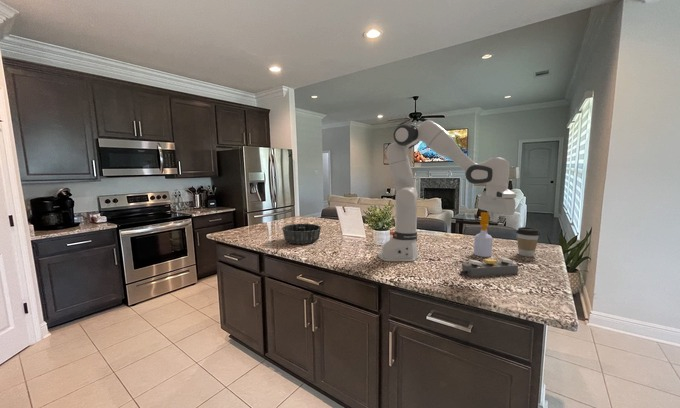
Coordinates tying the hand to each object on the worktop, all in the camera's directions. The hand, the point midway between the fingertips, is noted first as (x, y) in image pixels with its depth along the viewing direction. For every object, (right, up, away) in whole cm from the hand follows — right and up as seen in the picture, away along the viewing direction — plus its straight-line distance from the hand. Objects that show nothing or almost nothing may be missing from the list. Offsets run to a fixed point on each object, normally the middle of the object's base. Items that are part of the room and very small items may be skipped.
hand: (493, 221), depth 134 cm
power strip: (-4, -24, -1) cm, 24 cm away
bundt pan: (-98, -18, +60) cm, 117 cm away
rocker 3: (+6, -19, 0) cm, 20 cm away
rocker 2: (-2, -19, -1) cm, 20 cm away
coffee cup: (+33, -21, +27) cm, 48 cm away
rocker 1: (-10, -20, -3) cm, 22 cm away
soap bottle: (+9, -21, +28) cm, 36 cm away
